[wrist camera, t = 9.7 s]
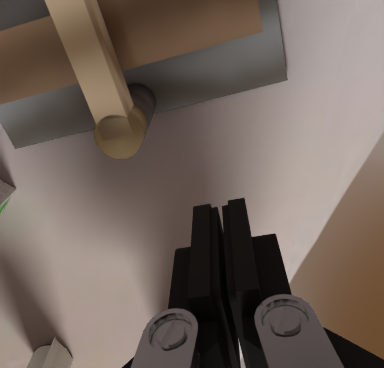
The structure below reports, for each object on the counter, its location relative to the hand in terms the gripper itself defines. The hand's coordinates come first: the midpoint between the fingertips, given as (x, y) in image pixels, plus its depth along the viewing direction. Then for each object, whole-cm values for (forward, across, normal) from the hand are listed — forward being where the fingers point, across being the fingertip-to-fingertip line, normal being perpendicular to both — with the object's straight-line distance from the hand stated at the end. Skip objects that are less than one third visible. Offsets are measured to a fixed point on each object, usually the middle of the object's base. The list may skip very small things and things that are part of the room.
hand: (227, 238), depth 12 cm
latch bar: (+18, +8, -4) cm, 21 cm away
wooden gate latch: (+25, +8, -6) cm, 27 cm away
